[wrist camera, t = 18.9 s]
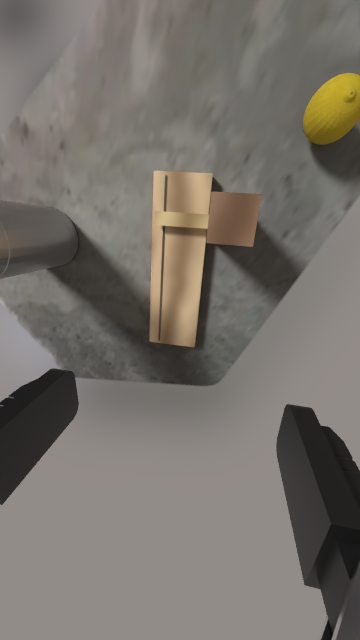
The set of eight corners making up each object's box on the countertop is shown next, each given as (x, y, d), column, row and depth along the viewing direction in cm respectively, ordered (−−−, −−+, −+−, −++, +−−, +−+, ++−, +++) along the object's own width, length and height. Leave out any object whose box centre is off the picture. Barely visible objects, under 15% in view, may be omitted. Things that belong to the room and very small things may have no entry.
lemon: (297, 159, 31) (323, 137, 24) (291, 110, 30) (317, 70, 22) (343, 143, 30) (386, 114, 23) (340, 90, 28) (384, 41, 21)
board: (152, 336, 44) (149, 341, 42) (157, 173, 34) (153, 170, 32) (195, 342, 43) (194, 347, 41) (212, 176, 33) (212, 173, 31)
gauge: (160, 234, 37) (129, 237, 24) (161, 203, 35) (129, 186, 22) (239, 241, 36) (252, 246, 23) (244, 208, 34) (261, 194, 21)
